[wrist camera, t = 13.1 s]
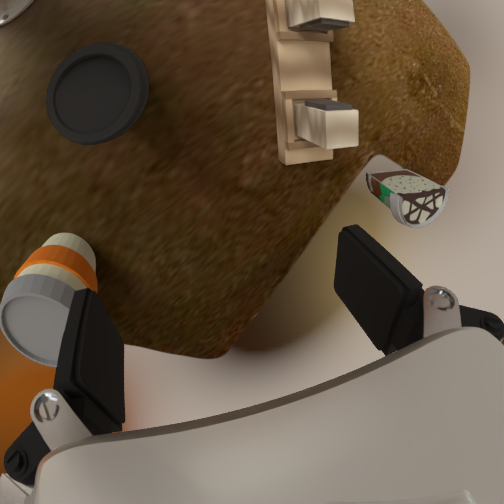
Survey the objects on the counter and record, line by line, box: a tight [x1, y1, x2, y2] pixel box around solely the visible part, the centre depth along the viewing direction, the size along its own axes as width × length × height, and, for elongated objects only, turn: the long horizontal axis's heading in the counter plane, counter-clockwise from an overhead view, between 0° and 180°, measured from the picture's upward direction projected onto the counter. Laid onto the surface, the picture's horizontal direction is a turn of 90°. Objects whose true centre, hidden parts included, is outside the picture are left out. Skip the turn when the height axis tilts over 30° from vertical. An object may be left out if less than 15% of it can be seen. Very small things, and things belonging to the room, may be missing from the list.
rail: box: [265, 0, 355, 165], centre depth 27 cm, size 26×7×10 cm, turn 5°
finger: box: [293, 100, 358, 149], centre depth 30 cm, size 5×4×8 cm
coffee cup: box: [46, 43, 150, 145], centre depth 22 cm, size 8×8×15 cm
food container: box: [366, 169, 450, 228], centre depth 42 cm, size 12×6×10 cm, turn 94°
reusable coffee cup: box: [0, 233, 98, 367], centre depth 31 cm, size 13×13×15 cm
